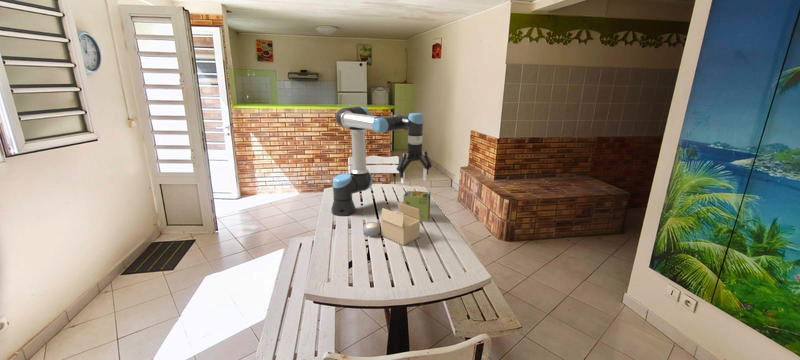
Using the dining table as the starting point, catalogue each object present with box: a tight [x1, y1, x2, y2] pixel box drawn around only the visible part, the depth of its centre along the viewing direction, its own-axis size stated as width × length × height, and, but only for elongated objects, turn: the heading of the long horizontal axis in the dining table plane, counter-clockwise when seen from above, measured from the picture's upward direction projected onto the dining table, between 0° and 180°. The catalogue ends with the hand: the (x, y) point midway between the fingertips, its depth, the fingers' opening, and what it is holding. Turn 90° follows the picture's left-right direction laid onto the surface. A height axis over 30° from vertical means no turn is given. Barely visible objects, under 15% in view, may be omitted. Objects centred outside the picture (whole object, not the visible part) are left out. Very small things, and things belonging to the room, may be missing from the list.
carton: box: [380, 211, 421, 246], centre depth 184 cm, size 17×13×10 cm
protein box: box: [402, 190, 431, 223], centre depth 208 cm, size 10×15×16 cm
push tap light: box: [363, 221, 381, 238], centre depth 188 cm, size 9×9×5 cm
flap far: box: [397, 202, 420, 219], centre depth 186 cm, size 15×6×1 cm
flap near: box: [380, 207, 404, 227], centre depth 177 cm, size 15×6×1 cm
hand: (413, 181), depth 186 cm, fingers open, 13 cm apart
